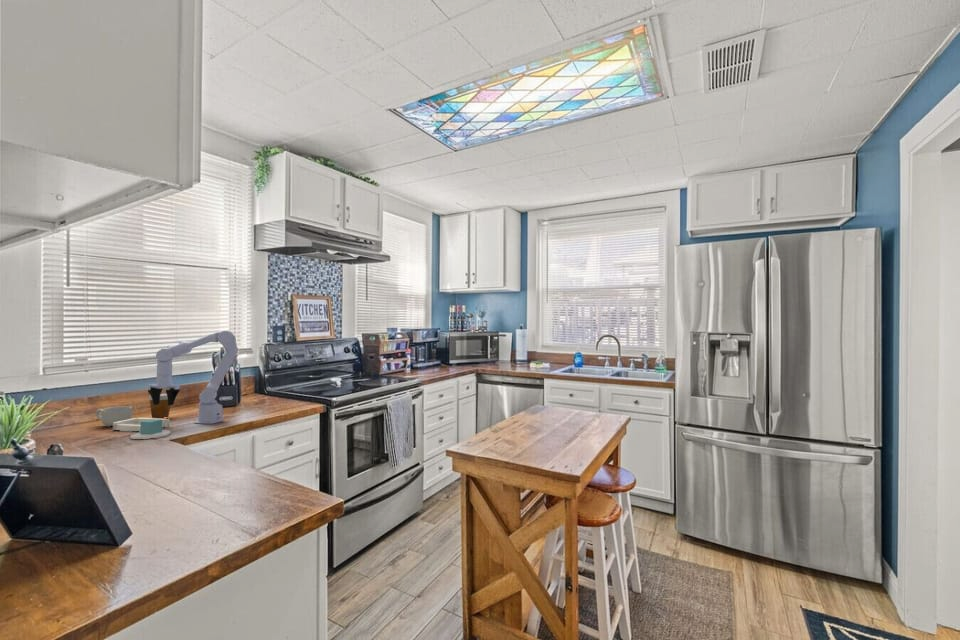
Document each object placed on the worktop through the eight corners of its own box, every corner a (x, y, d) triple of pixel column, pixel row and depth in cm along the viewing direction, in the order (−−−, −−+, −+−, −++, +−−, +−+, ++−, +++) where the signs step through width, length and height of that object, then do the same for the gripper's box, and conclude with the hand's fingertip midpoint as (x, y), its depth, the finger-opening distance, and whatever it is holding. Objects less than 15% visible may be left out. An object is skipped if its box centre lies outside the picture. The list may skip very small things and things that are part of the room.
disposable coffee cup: (142, 420, 203) (143, 395, 204) (162, 416, 212) (163, 392, 213) (157, 421, 201) (158, 396, 201) (176, 418, 210) (177, 393, 210)
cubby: (169, 426, 190) (169, 418, 190) (146, 432, 179) (146, 423, 179) (137, 425, 193) (137, 417, 193) (112, 430, 182) (113, 422, 182)
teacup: (137, 423, 197) (138, 406, 197) (115, 428, 186) (116, 410, 186) (110, 422, 198) (111, 405, 198) (87, 427, 187) (87, 409, 188)
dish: (178, 433, 178) (178, 430, 178) (149, 440, 165) (149, 438, 165) (151, 431, 180) (151, 429, 180) (121, 439, 167) (121, 436, 167)
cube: (161, 431, 176) (162, 419, 176) (150, 434, 171) (151, 422, 171) (151, 431, 177) (151, 419, 177) (140, 434, 172) (140, 421, 172)
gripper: (142, 375, 190) (141, 405, 190) (170, 376, 188) (169, 406, 188) (156, 374, 197) (155, 403, 197) (183, 374, 195) (183, 404, 195)
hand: (163, 404), depth 193 cm, fingers open, 7 cm apart
